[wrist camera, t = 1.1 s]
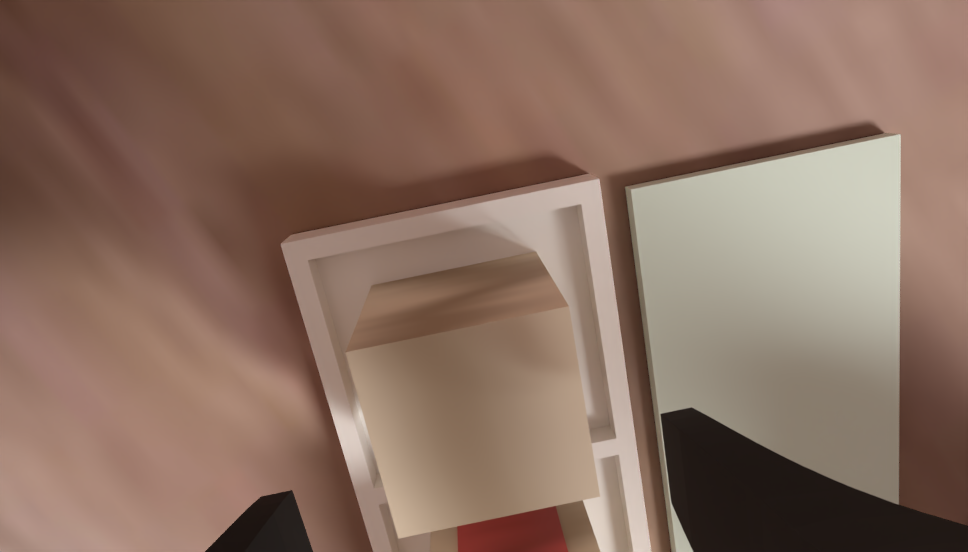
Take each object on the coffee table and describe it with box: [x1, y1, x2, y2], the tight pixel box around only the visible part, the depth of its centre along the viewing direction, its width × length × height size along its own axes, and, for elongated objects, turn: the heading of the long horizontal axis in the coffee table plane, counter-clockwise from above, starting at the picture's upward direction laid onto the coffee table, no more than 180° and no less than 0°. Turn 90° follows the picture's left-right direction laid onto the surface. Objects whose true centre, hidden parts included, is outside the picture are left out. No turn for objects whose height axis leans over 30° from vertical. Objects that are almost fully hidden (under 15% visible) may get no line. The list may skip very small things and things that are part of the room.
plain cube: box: [345, 252, 600, 539], centre depth 16 cm, size 5×5×5 cm
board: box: [625, 133, 901, 552], centre depth 20 cm, size 8×14×1 cm, turn 11°
